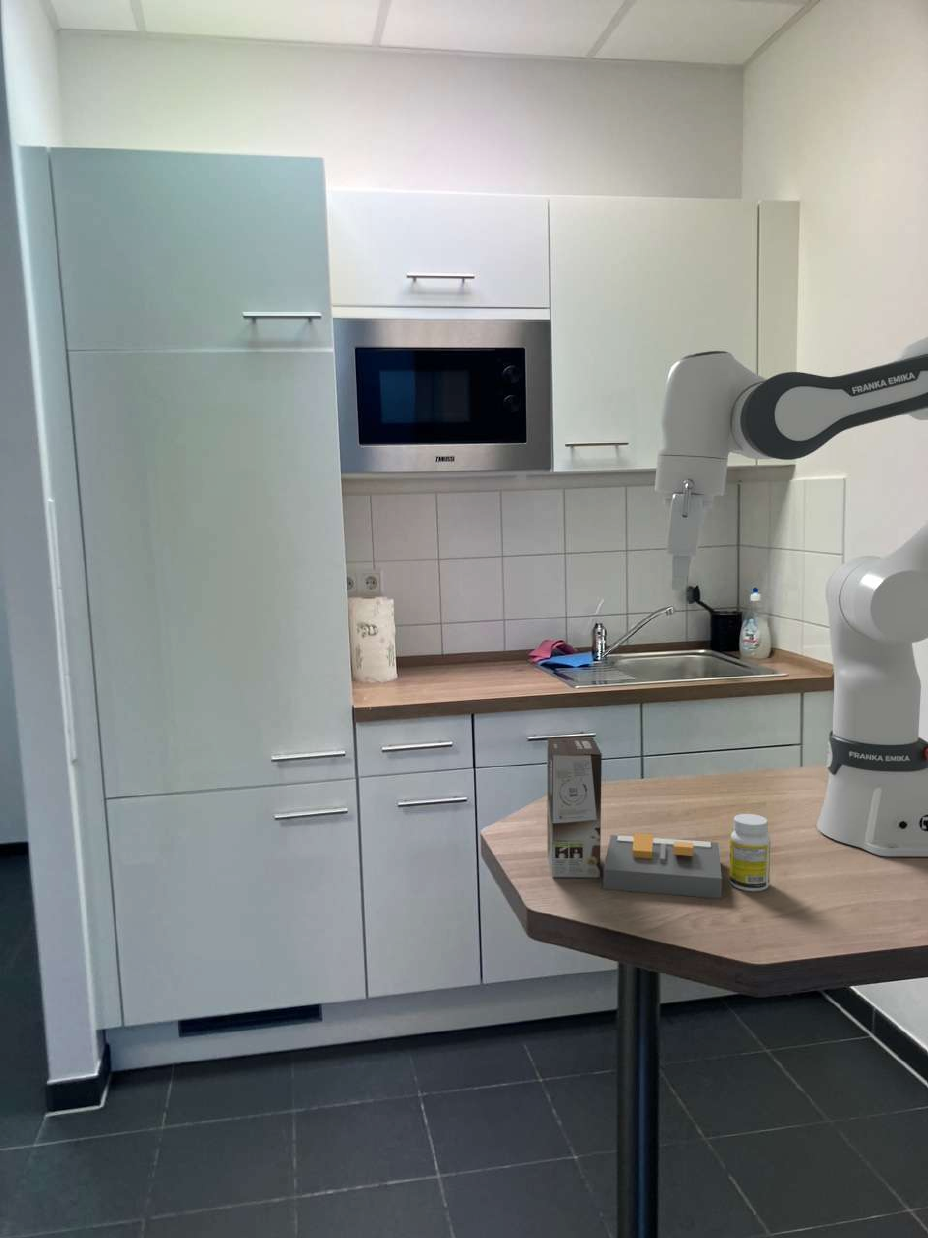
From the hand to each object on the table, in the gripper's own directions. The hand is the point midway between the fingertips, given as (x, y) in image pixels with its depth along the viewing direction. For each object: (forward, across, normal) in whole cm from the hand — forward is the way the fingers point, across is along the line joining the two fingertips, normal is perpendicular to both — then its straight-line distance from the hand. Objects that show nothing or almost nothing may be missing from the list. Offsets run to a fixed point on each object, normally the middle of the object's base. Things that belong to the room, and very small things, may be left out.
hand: (679, 586), depth 122 cm
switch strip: (+36, -9, -2) cm, 37 cm away
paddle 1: (+32, -9, +1) cm, 34 cm away
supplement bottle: (+35, -10, -12) cm, 39 cm away
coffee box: (+37, -9, +10) cm, 39 cm away
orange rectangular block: (+32, -9, -4) cm, 34 cm away
